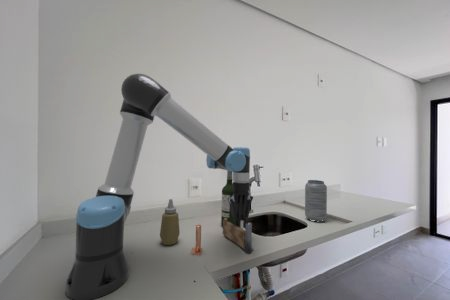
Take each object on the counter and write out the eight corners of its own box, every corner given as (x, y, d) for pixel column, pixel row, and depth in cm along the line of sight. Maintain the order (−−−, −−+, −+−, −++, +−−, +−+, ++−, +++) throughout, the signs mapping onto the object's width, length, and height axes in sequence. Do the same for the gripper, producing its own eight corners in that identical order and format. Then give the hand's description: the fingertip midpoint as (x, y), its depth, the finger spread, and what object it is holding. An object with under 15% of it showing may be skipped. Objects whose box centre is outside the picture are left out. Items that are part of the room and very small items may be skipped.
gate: (247, 247, 77) (247, 228, 77) (244, 248, 76) (244, 229, 76) (225, 233, 90) (226, 217, 90) (222, 234, 89) (223, 218, 89)
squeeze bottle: (173, 236, 87) (174, 196, 88) (183, 242, 82) (184, 199, 82) (156, 242, 82) (157, 199, 82) (165, 249, 76) (166, 202, 76)
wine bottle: (218, 226, 101) (219, 168, 102) (228, 222, 107) (229, 168, 108) (229, 230, 96) (230, 169, 97) (239, 226, 102) (240, 169, 103)
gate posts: (251, 246, 80) (252, 219, 80) (254, 254, 73) (255, 225, 73) (193, 245, 79) (193, 218, 79) (190, 254, 72) (191, 224, 72)
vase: (330, 221, 113) (330, 181, 114) (319, 224, 107) (319, 182, 107) (311, 215, 123) (312, 179, 123) (300, 218, 116) (301, 180, 117)
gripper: (246, 179, 94) (246, 229, 93) (224, 181, 87) (223, 234, 86) (257, 181, 88) (256, 234, 87) (234, 183, 80) (232, 241, 80)
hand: (240, 234), depth 87 cm, fingers closed
